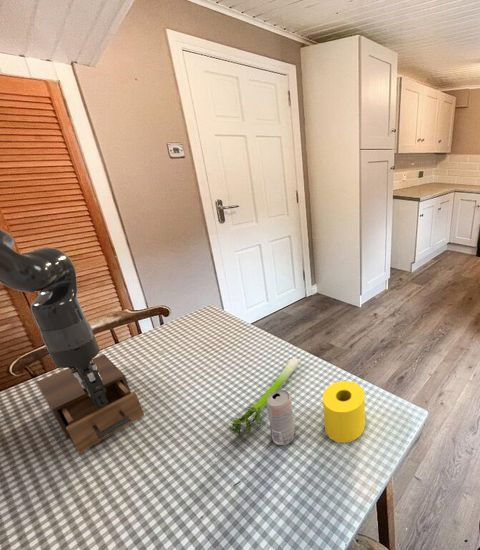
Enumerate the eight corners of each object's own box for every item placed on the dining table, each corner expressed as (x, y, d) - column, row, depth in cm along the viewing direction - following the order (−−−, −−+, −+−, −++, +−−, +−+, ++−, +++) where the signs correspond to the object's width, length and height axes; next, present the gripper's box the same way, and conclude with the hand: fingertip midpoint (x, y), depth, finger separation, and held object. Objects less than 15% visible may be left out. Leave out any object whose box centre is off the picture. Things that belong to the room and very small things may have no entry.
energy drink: (288, 423, 76) (282, 385, 72) (299, 436, 72) (295, 397, 68) (268, 436, 73) (261, 397, 68) (279, 450, 69) (273, 411, 64)
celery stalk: (305, 370, 97) (251, 446, 69) (285, 369, 99) (225, 444, 71) (302, 353, 95) (245, 424, 68) (282, 353, 97) (219, 422, 69)
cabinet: (134, 401, 83) (124, 375, 79) (66, 438, 72) (51, 409, 69) (114, 379, 91) (104, 354, 88) (50, 408, 81) (36, 381, 77)
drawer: (152, 424, 75) (144, 401, 72) (85, 465, 65) (73, 440, 62) (123, 391, 85) (115, 370, 82) (62, 422, 76) (50, 400, 73)
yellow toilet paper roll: (317, 434, 73) (314, 404, 69) (336, 404, 82) (334, 376, 78) (355, 448, 69) (354, 417, 66) (370, 415, 78) (370, 386, 75)
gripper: (39, 337, 66) (66, 394, 72) (55, 361, 59) (85, 423, 65) (83, 322, 72) (105, 377, 78) (103, 342, 64) (126, 401, 70)
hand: (96, 398), depth 71 cm, fingers open, 8 cm apart
